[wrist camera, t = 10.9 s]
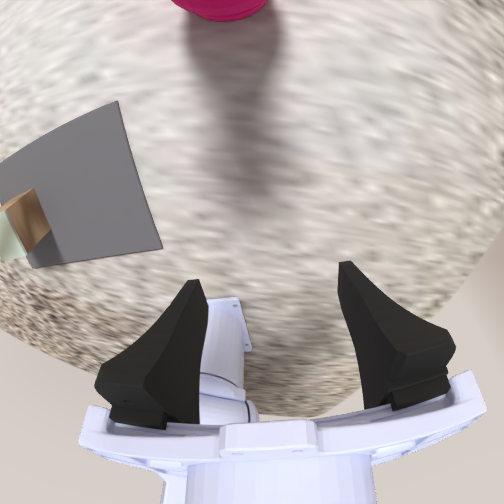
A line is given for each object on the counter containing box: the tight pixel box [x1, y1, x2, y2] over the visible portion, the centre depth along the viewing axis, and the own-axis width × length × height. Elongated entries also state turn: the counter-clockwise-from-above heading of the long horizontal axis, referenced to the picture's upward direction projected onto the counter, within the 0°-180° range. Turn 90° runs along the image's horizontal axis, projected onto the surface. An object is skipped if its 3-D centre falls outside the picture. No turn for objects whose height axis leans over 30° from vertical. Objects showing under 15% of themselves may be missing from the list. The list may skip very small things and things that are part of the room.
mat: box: [0, 101, 163, 268], centre depth 22 cm, size 14×20×1 cm
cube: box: [0, 188, 51, 261], centre depth 20 cm, size 5×5×5 cm
